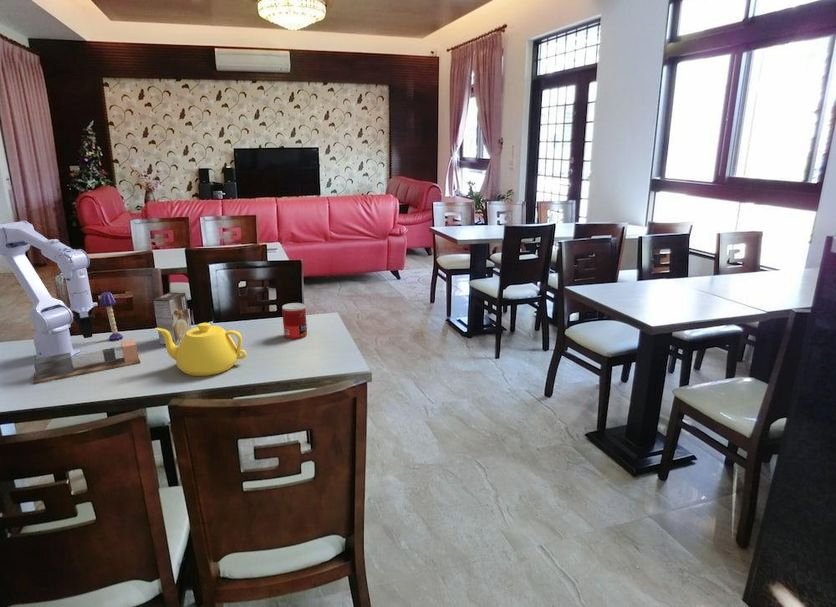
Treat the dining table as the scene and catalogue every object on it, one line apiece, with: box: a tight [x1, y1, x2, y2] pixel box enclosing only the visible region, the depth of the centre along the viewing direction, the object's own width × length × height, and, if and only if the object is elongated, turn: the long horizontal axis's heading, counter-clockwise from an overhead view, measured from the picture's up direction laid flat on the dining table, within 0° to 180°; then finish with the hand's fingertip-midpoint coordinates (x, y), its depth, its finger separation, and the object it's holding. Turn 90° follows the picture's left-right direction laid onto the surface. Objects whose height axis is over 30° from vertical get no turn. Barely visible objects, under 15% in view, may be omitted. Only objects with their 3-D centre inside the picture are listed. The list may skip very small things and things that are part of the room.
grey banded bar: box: [71, 346, 124, 367], centre depth 165 cm, size 19×3×3 cm, turn 123°
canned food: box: [281, 302, 308, 340], centre depth 189 cm, size 8×8×11 cm
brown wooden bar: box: [32, 353, 141, 385], centre depth 163 cm, size 28×8×5 cm, turn 123°
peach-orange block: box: [120, 339, 140, 363], centre depth 169 cm, size 4×5×5 cm
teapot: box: [154, 322, 248, 377], centre depth 163 cm, size 25×18×14 cm
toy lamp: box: [100, 291, 124, 341], centre depth 186 cm, size 5×5×17 cm
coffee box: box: [152, 291, 192, 346], centre depth 184 cm, size 9×6×16 cm
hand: (87, 333), depth 166 cm, fingers open, 7 cm apart
